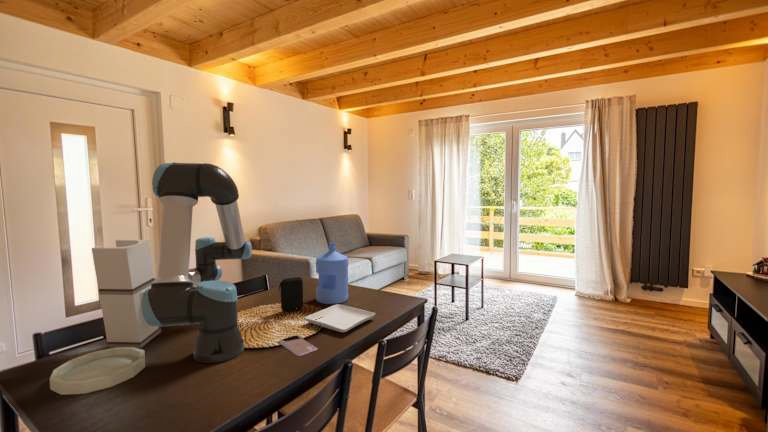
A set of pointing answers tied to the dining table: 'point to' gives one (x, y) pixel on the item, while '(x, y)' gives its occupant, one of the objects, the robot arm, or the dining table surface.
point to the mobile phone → (297, 345)
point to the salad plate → (340, 317)
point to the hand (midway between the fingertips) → (127, 294)
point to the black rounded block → (291, 294)
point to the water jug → (332, 277)
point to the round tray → (97, 370)
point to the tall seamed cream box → (125, 291)
